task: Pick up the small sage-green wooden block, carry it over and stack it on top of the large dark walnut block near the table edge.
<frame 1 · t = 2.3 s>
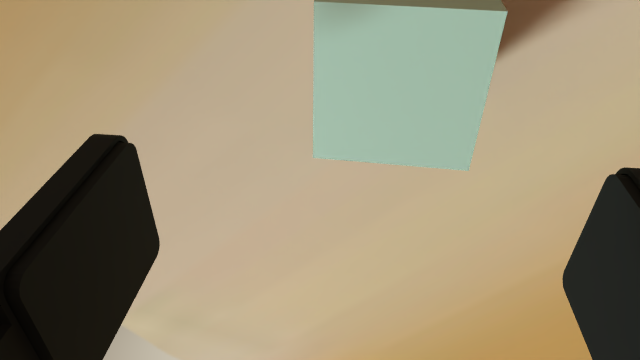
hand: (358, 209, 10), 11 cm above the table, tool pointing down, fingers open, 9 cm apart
sage block: (397, 25, 19), on the table
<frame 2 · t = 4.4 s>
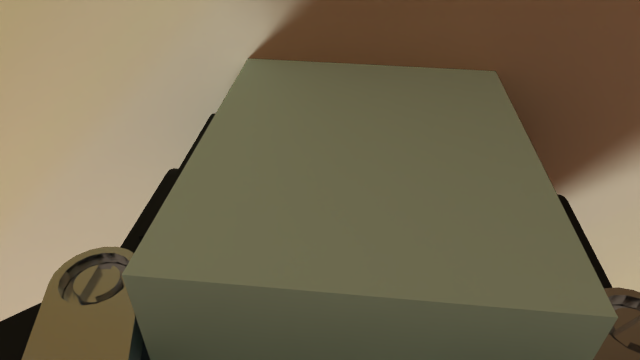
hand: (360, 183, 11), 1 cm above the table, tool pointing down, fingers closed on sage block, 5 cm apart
sage block: (361, 166, 11), on the table, touching gripper
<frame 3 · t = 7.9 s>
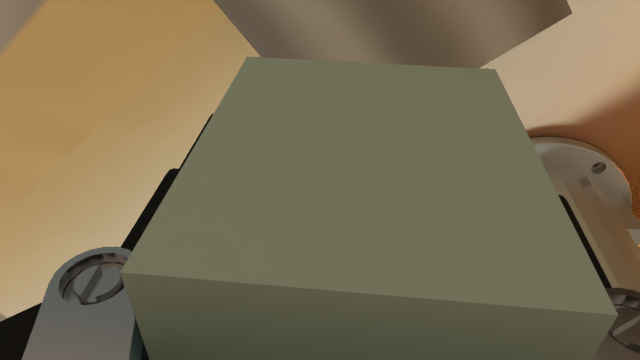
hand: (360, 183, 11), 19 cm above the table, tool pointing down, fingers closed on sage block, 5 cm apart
sage block: (361, 165, 11), point 19 cm above the table, touching gripper
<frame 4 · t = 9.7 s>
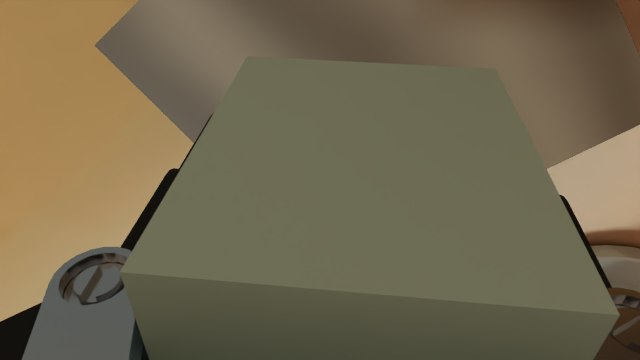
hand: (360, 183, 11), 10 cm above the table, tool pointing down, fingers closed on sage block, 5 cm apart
sage block: (361, 164, 11), point 9 cm above the table, touching gripper
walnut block: (374, 38, 19), on the table
when the fingers open (6 cm above the table, at t = 11.4 s): sage block drops 1 cm, point 3 cm above the table.
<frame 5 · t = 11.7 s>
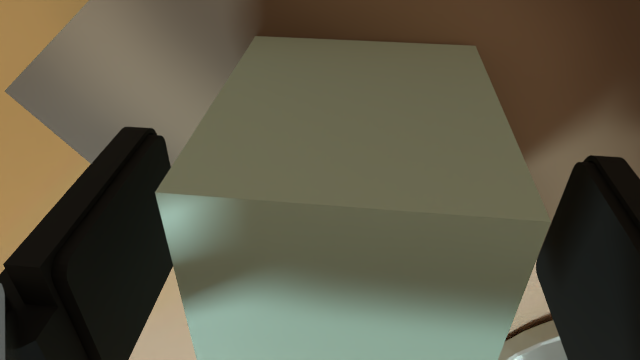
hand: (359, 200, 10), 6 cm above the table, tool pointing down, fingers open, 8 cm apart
sage block: (357, 135, 12), point 3 cm above the table
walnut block: (365, 71, 16), on the table
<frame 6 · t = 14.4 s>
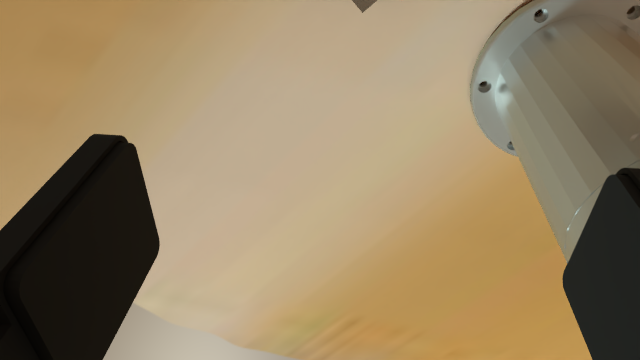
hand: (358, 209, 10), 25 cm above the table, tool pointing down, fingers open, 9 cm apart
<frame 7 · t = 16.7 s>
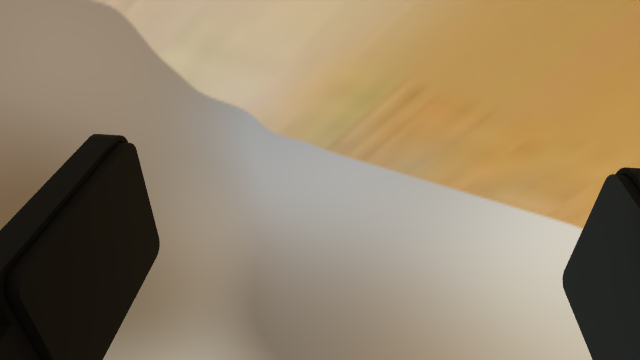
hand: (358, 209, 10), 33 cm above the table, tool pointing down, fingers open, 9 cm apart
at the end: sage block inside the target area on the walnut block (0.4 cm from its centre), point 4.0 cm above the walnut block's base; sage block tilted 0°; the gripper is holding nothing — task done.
